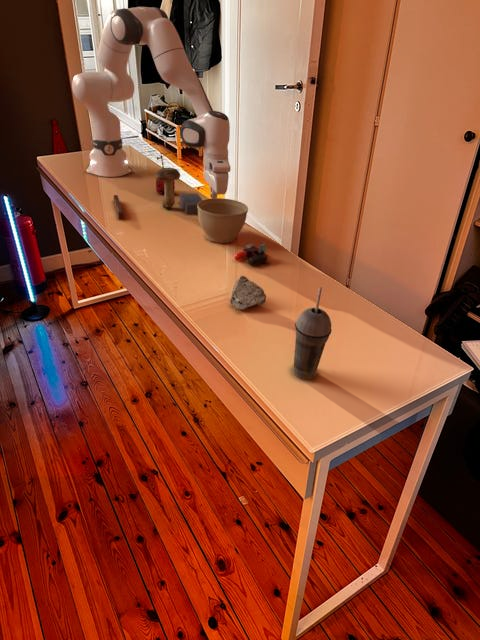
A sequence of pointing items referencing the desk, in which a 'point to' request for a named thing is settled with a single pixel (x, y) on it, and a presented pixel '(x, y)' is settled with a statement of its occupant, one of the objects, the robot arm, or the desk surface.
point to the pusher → (190, 203)
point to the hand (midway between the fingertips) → (213, 198)
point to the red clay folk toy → (161, 181)
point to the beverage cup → (310, 340)
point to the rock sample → (246, 294)
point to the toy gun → (253, 254)
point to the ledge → (118, 207)
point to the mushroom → (168, 185)
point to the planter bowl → (221, 218)
